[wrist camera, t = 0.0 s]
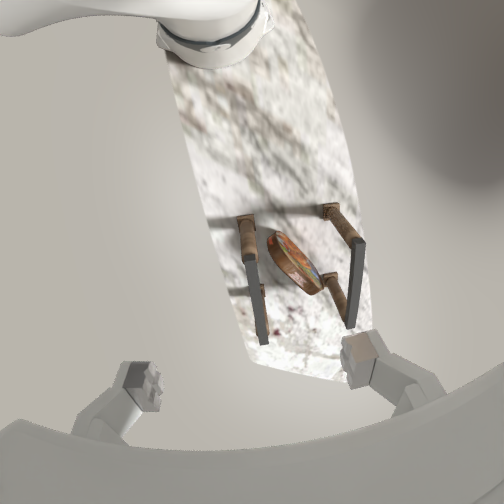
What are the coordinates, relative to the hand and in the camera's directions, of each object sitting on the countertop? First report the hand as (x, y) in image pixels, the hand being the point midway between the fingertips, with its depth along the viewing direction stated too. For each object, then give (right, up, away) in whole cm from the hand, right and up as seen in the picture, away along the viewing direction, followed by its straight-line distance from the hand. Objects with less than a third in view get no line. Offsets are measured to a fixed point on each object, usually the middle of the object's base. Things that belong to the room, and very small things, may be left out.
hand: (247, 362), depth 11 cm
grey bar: (+1, -3, +33) cm, 33 cm away
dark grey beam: (+17, -1, +32) cm, 37 cm away
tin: (+8, +5, +44) cm, 45 cm away
